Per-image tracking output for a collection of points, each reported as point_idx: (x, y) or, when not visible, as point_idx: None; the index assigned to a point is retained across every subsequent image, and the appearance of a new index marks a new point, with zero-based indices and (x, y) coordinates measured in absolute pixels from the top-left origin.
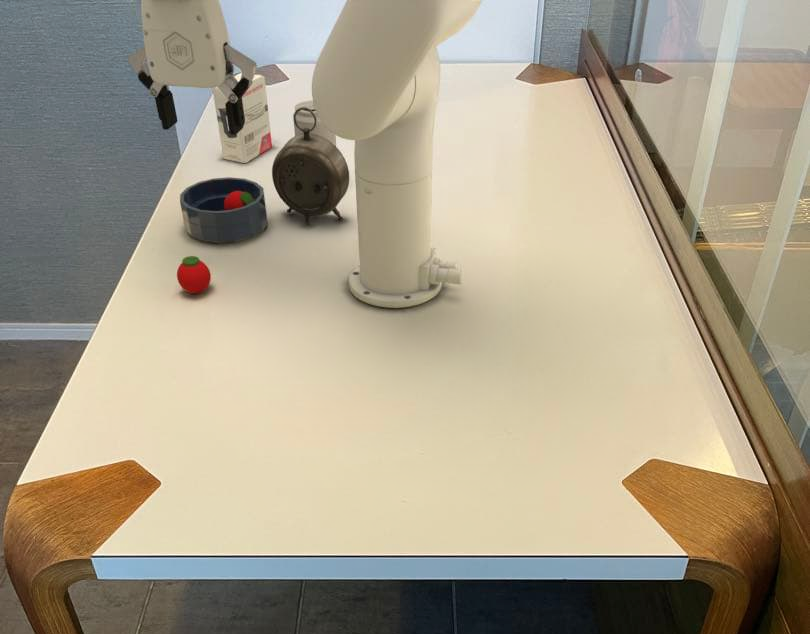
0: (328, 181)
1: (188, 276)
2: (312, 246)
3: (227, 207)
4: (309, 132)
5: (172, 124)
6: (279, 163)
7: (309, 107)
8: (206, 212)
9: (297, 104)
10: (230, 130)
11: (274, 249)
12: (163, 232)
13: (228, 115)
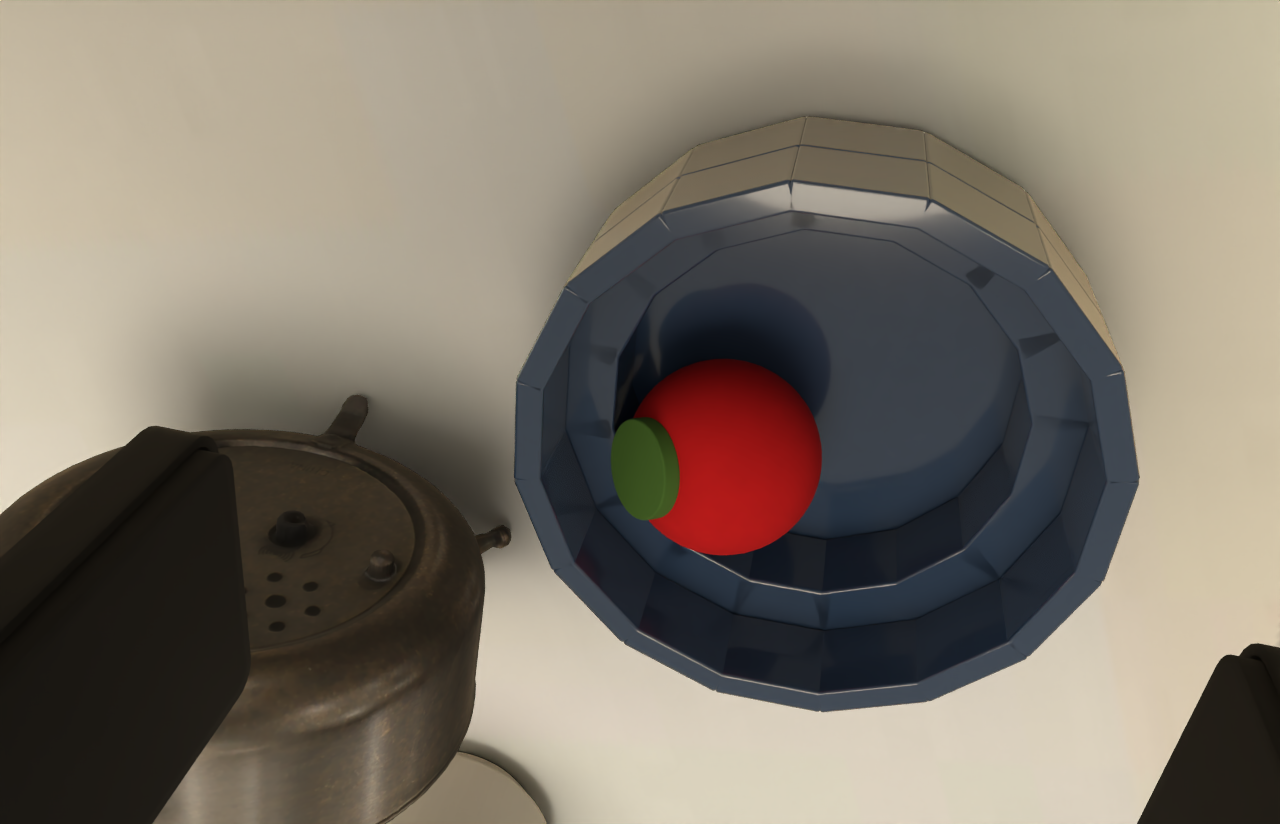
0: (49, 512)
1: None
2: (242, 156)
3: (776, 406)
4: None
5: (1176, 770)
6: (340, 648)
7: None
8: (858, 190)
9: None
10: (174, 457)
11: (444, 97)
12: (1261, 286)
13: (34, 590)
